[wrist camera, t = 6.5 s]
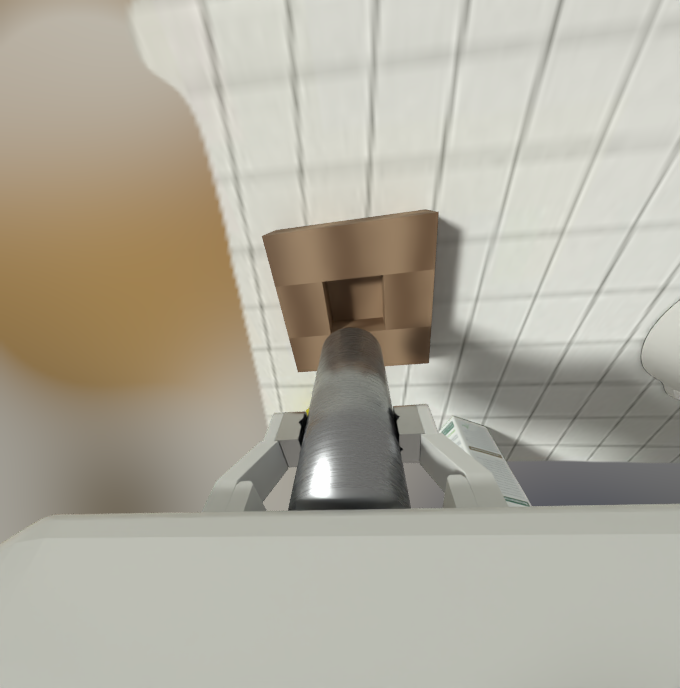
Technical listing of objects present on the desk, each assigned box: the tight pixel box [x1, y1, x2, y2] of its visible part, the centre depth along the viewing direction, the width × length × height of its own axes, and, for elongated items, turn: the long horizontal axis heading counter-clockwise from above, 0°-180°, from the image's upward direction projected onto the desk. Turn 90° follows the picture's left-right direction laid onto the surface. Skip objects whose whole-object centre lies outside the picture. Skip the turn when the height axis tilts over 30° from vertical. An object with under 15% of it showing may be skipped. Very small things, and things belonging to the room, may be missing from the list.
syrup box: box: [438, 416, 531, 507], centre depth 30 cm, size 6×6×14 cm
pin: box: [288, 327, 411, 511], centre depth 12 cm, size 4×4×10 cm
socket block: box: [262, 210, 438, 372], centre depth 25 cm, size 14×14×4 cm
